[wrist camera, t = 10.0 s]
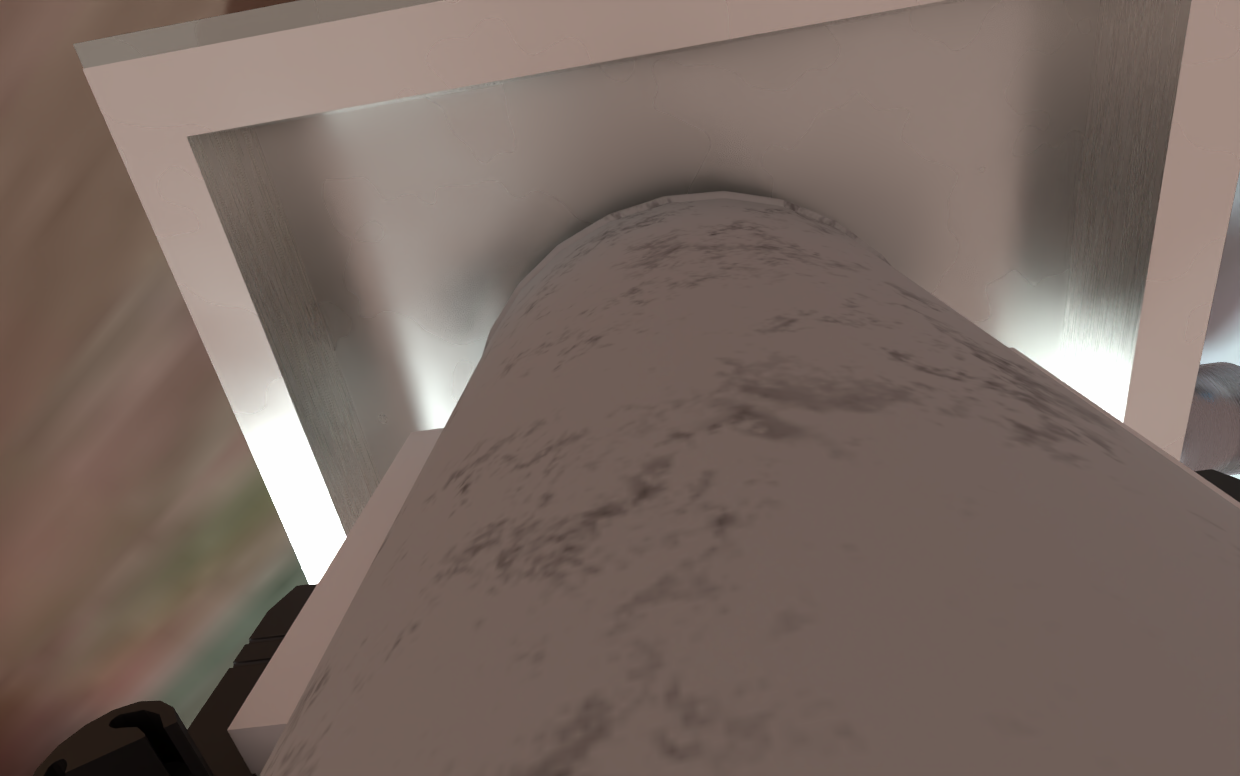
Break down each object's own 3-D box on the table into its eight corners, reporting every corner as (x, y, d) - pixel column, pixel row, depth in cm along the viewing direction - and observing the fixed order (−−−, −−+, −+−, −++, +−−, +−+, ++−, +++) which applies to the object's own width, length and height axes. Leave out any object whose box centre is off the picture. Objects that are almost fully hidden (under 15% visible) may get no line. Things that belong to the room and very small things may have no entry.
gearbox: (414, 594, 25) (327, 799, 18) (217, 53, 18) (-64, 34, 10) (1126, 507, 23) (1349, 699, 16) (1239, -139, 16) (1748, -324, 8)
